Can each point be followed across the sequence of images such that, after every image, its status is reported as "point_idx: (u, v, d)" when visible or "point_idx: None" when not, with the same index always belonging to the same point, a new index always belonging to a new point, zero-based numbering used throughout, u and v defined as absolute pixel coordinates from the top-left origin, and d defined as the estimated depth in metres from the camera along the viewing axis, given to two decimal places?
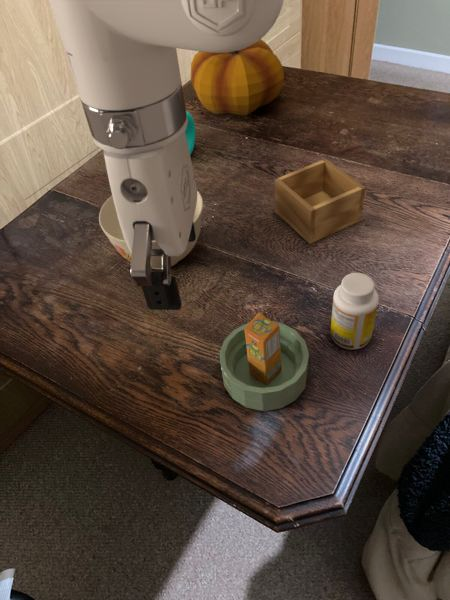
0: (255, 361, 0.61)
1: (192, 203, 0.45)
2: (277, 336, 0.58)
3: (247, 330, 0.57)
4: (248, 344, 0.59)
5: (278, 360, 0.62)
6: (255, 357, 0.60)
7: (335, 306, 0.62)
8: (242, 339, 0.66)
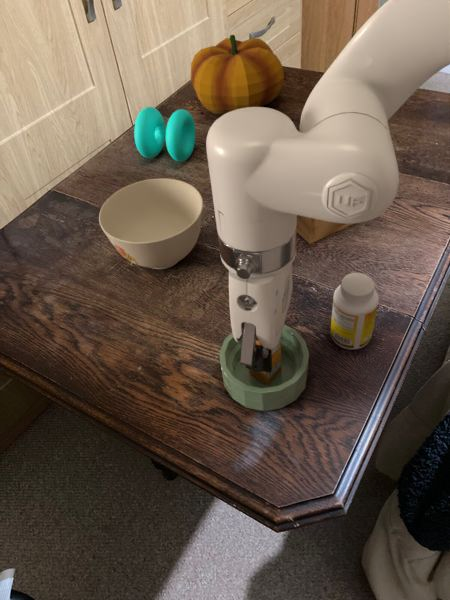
0: None
1: (288, 301, 0.55)
2: None
3: None
4: None
5: (278, 360, 0.62)
6: None
7: (335, 306, 0.62)
8: (242, 339, 0.66)
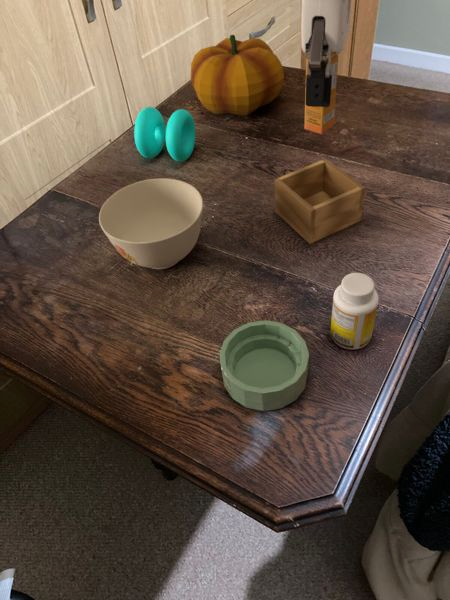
0: None
1: (348, 24, 0.61)
2: (335, 68, 0.64)
3: None
4: None
5: (333, 106, 0.68)
6: None
7: (335, 306, 0.62)
8: (242, 339, 0.66)
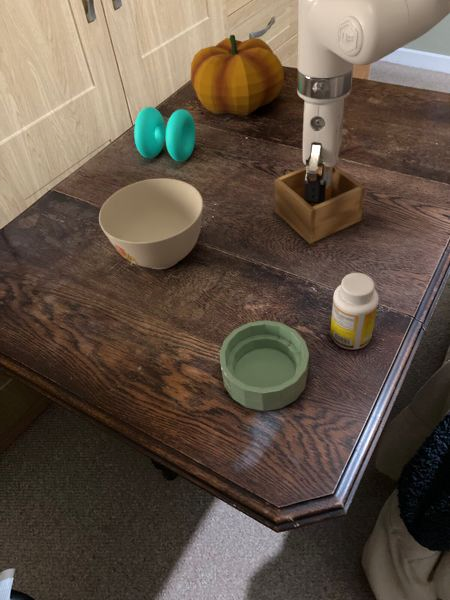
0: None
1: (340, 140, 0.75)
2: (331, 172, 0.79)
3: None
4: None
5: (329, 198, 0.82)
6: None
7: (335, 306, 0.62)
8: (242, 339, 0.66)
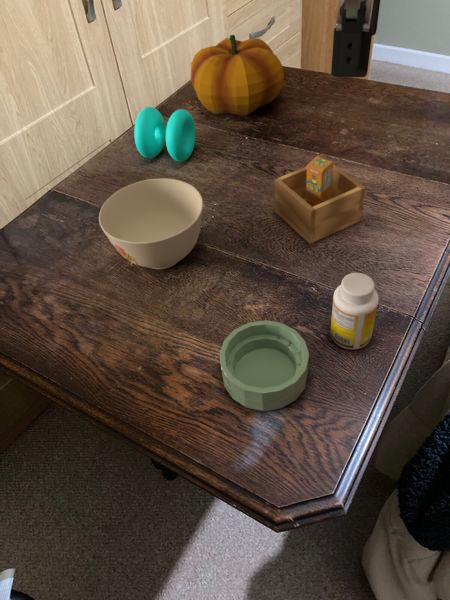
0: (312, 197, 0.81)
1: None
2: (330, 172, 0.79)
3: (309, 166, 0.78)
4: (308, 180, 0.80)
5: (329, 198, 0.82)
6: (313, 191, 0.80)
7: (335, 306, 0.62)
8: (242, 339, 0.66)
